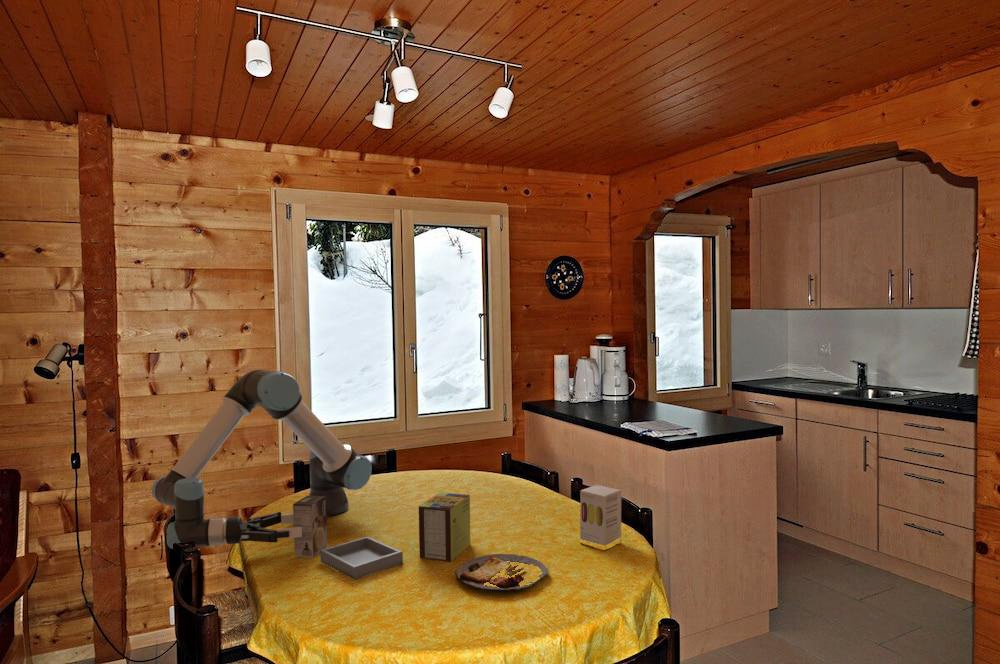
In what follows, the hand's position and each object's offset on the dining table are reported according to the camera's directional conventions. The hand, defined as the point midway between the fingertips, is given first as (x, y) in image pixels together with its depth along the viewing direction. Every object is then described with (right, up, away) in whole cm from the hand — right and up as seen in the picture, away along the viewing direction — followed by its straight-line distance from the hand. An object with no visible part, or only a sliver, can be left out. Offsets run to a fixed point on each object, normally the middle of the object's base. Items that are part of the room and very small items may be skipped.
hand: (302, 524), depth 198 cm
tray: (+19, -9, -7) cm, 22 cm away
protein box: (+42, -9, +2) cm, 43 cm away
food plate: (+59, -9, -18) cm, 63 cm away
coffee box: (+2, -9, +1) cm, 9 cm away
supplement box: (+90, -8, +6) cm, 90 cm away
